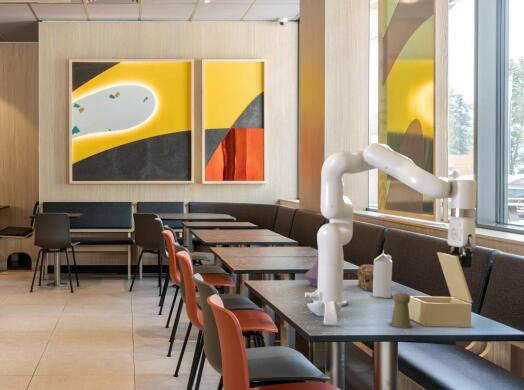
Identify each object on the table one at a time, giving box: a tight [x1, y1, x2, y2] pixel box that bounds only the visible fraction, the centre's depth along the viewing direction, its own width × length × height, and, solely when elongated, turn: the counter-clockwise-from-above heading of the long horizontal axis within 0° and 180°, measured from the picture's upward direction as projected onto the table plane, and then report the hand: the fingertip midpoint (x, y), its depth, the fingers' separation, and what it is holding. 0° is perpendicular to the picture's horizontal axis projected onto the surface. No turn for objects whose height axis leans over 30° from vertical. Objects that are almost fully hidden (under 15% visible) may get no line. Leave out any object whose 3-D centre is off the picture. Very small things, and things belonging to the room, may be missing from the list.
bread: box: [357, 263, 374, 292], centre depth 283 cm, size 19×11×10 cm, turn 170°
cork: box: [390, 292, 411, 329], centre depth 211 cm, size 6×6×11 cm
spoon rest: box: [306, 301, 342, 326], centre depth 219 cm, size 24×12×7 cm, turn 171°
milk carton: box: [372, 250, 393, 299], centre depth 264 cm, size 7×7×19 cm
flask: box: [303, 257, 318, 288], centre depth 286 cm, size 16×16×20 cm
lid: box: [436, 251, 473, 304], centre depth 217 cm, size 16×13×5 cm
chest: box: [408, 295, 473, 328], centre depth 217 cm, size 16×13×8 cm
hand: (460, 265), depth 217 cm, fingers closed on lid, 6 cm apart
